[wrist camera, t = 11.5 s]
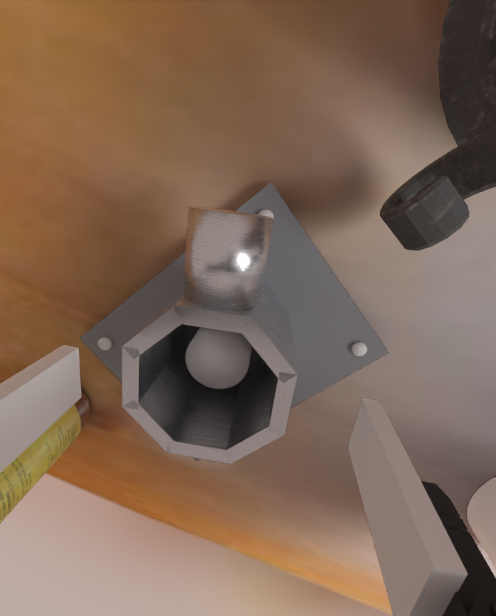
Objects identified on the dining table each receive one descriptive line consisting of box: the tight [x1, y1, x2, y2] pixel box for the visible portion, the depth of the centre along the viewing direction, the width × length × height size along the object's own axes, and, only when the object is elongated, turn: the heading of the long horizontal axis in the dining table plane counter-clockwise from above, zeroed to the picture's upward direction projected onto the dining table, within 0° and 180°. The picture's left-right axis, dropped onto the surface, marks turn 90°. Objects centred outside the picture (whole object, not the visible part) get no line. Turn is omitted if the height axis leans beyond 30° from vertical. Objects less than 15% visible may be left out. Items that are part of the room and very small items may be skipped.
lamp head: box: [122, 206, 298, 464], centre depth 17 cm, size 12×8×8 cm, turn 173°
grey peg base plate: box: [80, 182, 389, 461], centre depth 20 cm, size 18×14×6 cm
